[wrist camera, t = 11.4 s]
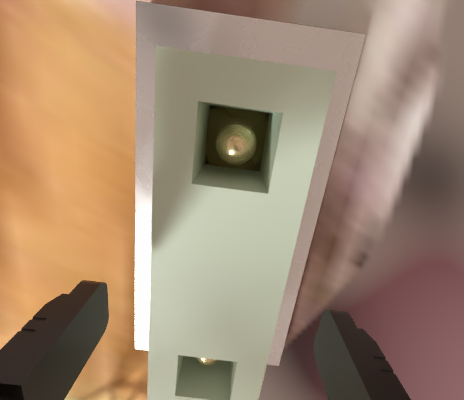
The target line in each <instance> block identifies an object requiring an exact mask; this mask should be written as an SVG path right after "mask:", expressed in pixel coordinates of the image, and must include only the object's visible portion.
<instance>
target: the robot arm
mask: <svg viewBox="0 0 464 400" xmlns="http://www.w3.org/2000/svg"><path fill="white" fill-rule="evenodd" d="M108 317H109V312H108V292H107V284H106V283H103V282H95V281H86V280H83V281H81V282H80V283H79V284H78V285H77V286H76V287H75V288H74V289H73V290H72V292H71V293H70V294H61V295H60V296H58V297H56V298H55V299H53V300H52V301H50V302H48V303H47V304H45V305H44V306H43V307H42V308H41V309H40V310H39V311H38V312H37V313H36V314H35V315H34V316H33V319H32V320H29V322H28V323H27V324H26V325H25V326H24V327H23V328H22V330H21V331H19V332H18V333H17V334H16V335H15V336H14V337H13V338H12V339H11V340H10V341H9V342H8V343H7V344H6V345H5V346H4V347H3V348H2V349H1V350H0V400H64V399H65V397H66V396H67V394H68V392H69V391H70V389H71V387H72V386H73V384H74V382H75V381H76V379H77V377H78V376H79V374H80V372H81V371H82V369H83V367H84V366H85V364H86V362H87V361H88V359H89V357H90V356H91V354H92V352H93V351H94V349H95V347H96V346H97V344H98V342H99V341H100V339H101V337H102V336H103V334H104V332H105V329H106V327H107V323H108ZM314 355H315V360H316V363H317V366H318V369H319V373H320V376H321V379H322V382H323V385H324V389H325V392H326V395H327V398H328V400H411V399H410V398H409V396H408V394H407V393H406V391H405V389H404V388H403V386H402V384H401V383H400V381H399V379H398V378H397V376H396V375H395V374H394V373H393V369H392V368H391V366H390V364H389V363H388V362H387V361H386V360H385V356H384V355H383V353H382V351H381V350H380V348H379V346H378V345H377V343H376V342H375V341H374V340H373V339H372V338H371V337H370V336H369V335H368V334H367V333H366V332H365V331H364V330H363V329H358V328H357V327H356V325H355V323H354V321H353V319H352V318H351V316H350V314H349V313H347V312H345V311H336V310H328V309H326V310H324V312H323V314H322V318H321V321H320V324H319V327H318V330H317V333H316V336H315V340H314Z"/></svg>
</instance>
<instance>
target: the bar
mask: <svg viewBox="0 0 464 400" xmlns="http://www.w3.org/2000/svg"><path fill="white" fill-rule="evenodd" d="M336 73H337V71H332V70H325V69H318V68H311V67H304V66H297V65H290V64H283V63H275V62H268V61H261V60H254V59H247V58H240V57H233V56H226V55H218V54H211V53H204V52H197V51H190V50H183V49H176V48H169V47H161V46H156V62H155V103H154V144H153V185H152V226H151V267H150V307H149V348H148V389H147V400H258V399H259V395H260V390H261V387H262V383H263V378H264V374H265V370H266V366H267V362H268V357H269V353H270V349H271V345H272V341H273V337H274V332H275V328H276V324H277V320H278V316H279V311H280V307H281V303H282V299H283V295H284V290H285V286H286V282H287V278H288V274H289V269H290V265H291V261H292V257H293V253H294V249H295V244H296V240H297V236H298V232H299V228H300V223H301V219H302V215H303V211H304V207H305V202H306V198H307V194H308V190H309V186H310V182H311V177H312V173H313V169H314V165H315V161H316V156H317V152H318V148H319V144H320V140H321V135H322V131H323V127H324V123H325V119H326V115H327V110H328V106H329V102H330V98H331V94H332V89H333V85H334V81H335V77H336ZM210 105H214V106H221V107H228V108H236V109H243V110H250V111H258V112H265V113H270V114H269V119H268V125H267V131H266V137H265V143H264V149H263V155H262V161H261V167H260V171H252V170H245V169H237V168H229V167H222V166H214V165H207V164H205V154H206V143H207V132H208V122H209V111H210ZM196 357H198V358H207V359H215V360H219V361H218V362H217V363H215V364H213V365H204V364H201V363H200V362H199V361H198V360H197V359H196Z"/></svg>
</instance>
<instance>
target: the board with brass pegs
mask: <svg viewBox="0 0 464 400" xmlns="http://www.w3.org/2000/svg"><path fill="white" fill-rule="evenodd" d="M365 37H366V34H360V33H354V32H347V31H340V30H333V29H326V28H319V27H312V26H306V25H299V24H292V23H285V22H278V21H271V20H265V19H258V18H251V17H244V16H237V15H230V14H223V13H217V12H210V11H203V10H196V9H189V8H182V7H176V6H169V5H162V4H155V3H148V2H141V1H136V185H135V349H139V350H147V351H148V348H149V307H150V267H151V226H152V185H153V144H154V103H155V62H156V46H161V47H169V48H176V49H183V50H190V51H197V52H204V53H211V54H218V55H226V56H233V57H240V58H247V59H254V60H261V61H268V62H275V63H283V64H290V65H297V66H304V67H311V68H318V69H325V70H332V71H337V73H336V77H335V81H334V85H333V89H332V94H331V98H330V102H329V106H328V110H327V115H326V119H325V123H324V127H323V131H322V135H321V140H320V144H319V148H318V152H317V156H316V161H315V165H314V169H313V173H312V177H311V182H310V186H309V190H308V194H307V198H306V202H305V207H304V211H303V215H302V219H301V223H300V228H299V232H298V236H297V240H296V244H295V249H294V253H293V257H292V261H291V265H290V269H289V274H288V278H287V282H286V286H285V290H284V295H283V299H282V303H281V307H280V311H279V316H278V320H277V324H276V328H275V332H274V337H273V341H272V345H271V349H270V353H269V357H268V362H267V365H276V366H279V362H280V359H281V355H282V351H283V348H284V344H285V340H286V336H287V332H288V329H289V325H290V321H291V317H292V313H293V310H294V306H295V302H296V298H297V294H298V291H299V287H300V283H301V279H302V276H303V272H304V268H305V264H306V260H307V257H308V253H309V249H310V245H311V241H312V238H313V234H314V230H315V226H316V222H317V219H318V215H319V211H320V207H321V203H322V200H323V196H324V192H325V188H326V184H327V181H328V177H329V173H330V169H331V166H332V162H333V158H334V154H335V150H336V147H337V143H338V139H339V135H340V131H341V128H342V124H343V120H344V116H345V112H346V109H347V105H348V101H349V97H350V93H351V90H352V86H353V82H354V78H355V74H356V71H357V67H358V63H359V59H360V55H361V52H362V48H363V44H364V40H365ZM269 114H270V113H265V112H258V111H250V110H243V109H236V108H228V107H221V106H214V105H210V111H209V122H208V132H207V143H206V154H205V164H207V165H214V166H222V167H229V168H237V169H245V170H252V171H260V167H261V161H262V155H263V149H264V143H265V137H266V131H267V125H268V119H269ZM196 359H197V360H198V361H199V362H200V363H201V364H204V365H213V364H215V363H217V362H218V361H219V360H215V359H207V358H198V357H196Z"/></svg>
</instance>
